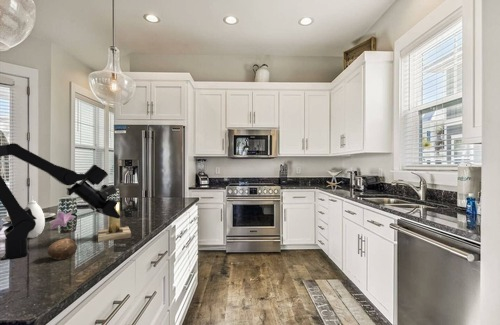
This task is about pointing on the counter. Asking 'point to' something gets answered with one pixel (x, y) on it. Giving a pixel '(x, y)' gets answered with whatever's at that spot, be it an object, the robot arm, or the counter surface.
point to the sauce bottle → (39, 221)
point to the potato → (62, 249)
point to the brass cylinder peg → (114, 222)
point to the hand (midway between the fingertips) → (117, 216)
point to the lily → (62, 219)
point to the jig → (114, 234)
